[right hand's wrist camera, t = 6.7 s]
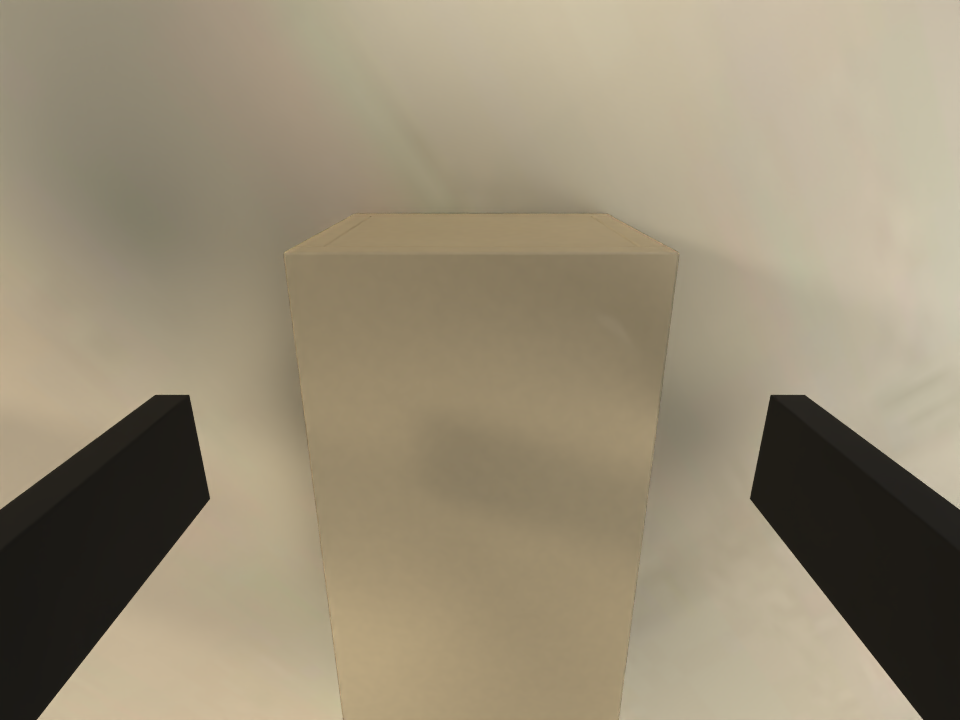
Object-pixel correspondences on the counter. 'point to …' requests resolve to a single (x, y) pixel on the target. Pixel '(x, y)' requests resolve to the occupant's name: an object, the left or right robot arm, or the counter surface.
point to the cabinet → (481, 454)
